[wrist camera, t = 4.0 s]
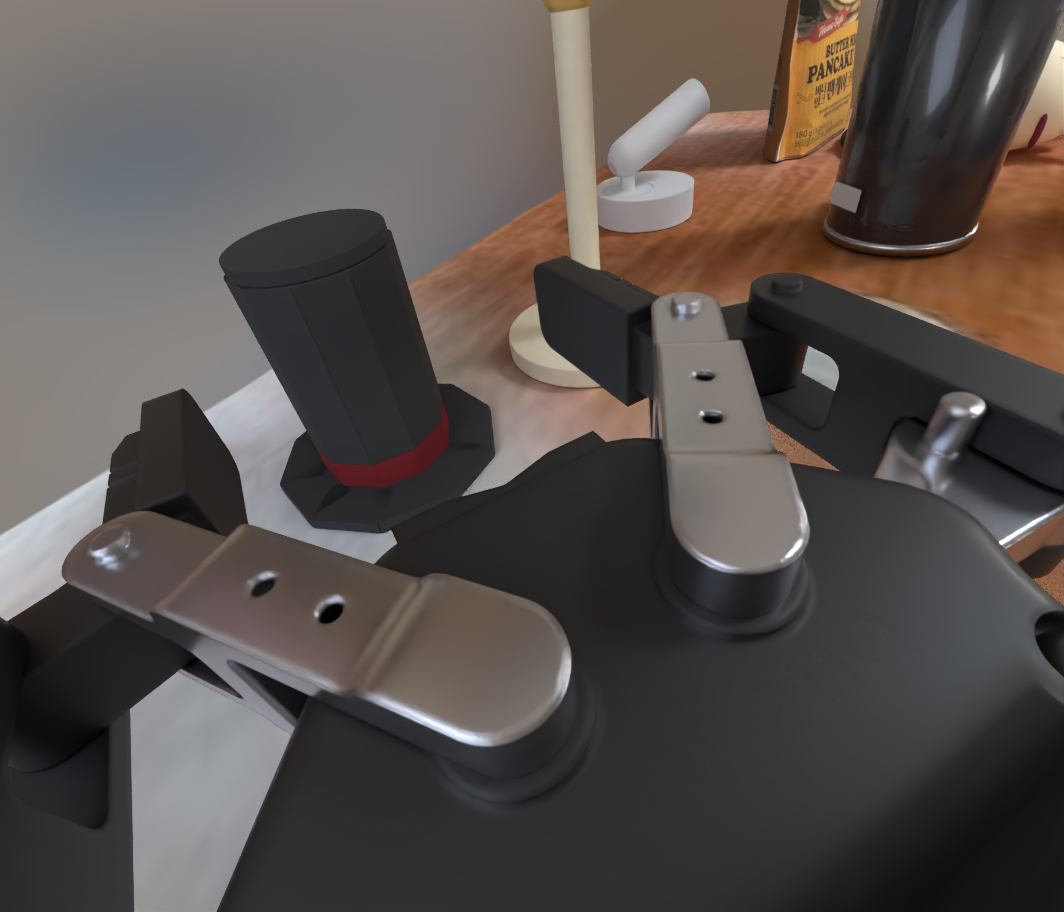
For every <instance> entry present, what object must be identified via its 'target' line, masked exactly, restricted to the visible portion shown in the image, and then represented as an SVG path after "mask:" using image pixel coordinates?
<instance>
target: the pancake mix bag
mask: <svg viewBox="0 0 1064 912" xmlns="http://www.w3.org/2000/svg"><path fill="white" fill-rule="evenodd" d="M859 10H860V0H788V5H787V12H786V17H785V24H784V30H783V36H782V42H781V48H780V54H779V60H778V66H777V72H776V77H775V83H774V88H773V94H772V101H771V107H770V115H769V122H768V128H767V133H766V139H765V144H764V150H763V156H764V158H766V159H768V160H770V161H774V162H777V161H780V160H784V159H791V158H800V157H803V156H805V155H807V154H810V153H811V152H813V151H815V150H816V149H818V148H819V147H821V146H822V145H824V144H825V143H827V142H828V141H829V140H830V139H832V138H834V137H836V136H837V135H839V134H840V133H841V132H842V131H843V130H844V129H845V126H846V122H847V118H848V113H849V108H850V103H851V92H852V75H853V62H854V52H855V43H856V35H857V26H858V18H859Z"/></svg>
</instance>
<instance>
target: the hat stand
mask: <svg viewBox="0 0 1064 912" xmlns="http://www.w3.org/2000/svg"><path fill="white" fill-rule="evenodd" d="M542 1H543V3H544V5H545V7H546V8H547V9H548V10H549V12H550V13H551V24H552V36H553V48H554V60H555V72H556V85H557V97H558V107H559V108H558V109H559V121H560V134H561V145H562V158H563V170H564V182H565V195H566V207H567V219H568V231H569V243H570V256H571V259H573V260H575V261H577V262H579V263H581V264H583V265H585V266H587V267H589V268H592V269H598V270H600V254H599V232H598V209H597V187H596V164H595V143H594V119H593V98H592V75H591V52H590V30H589V7H588V6H589V5H590V3H591V1H592V0H542ZM509 343H510V349H511V354H512V358H513V360H514V362H515V364H516V365H517V366H518V368H519V369H520V370H521V371H523V372H524V373H525V374H527V375H528V376H530V377H532V378H534V379H536V380H538V381H541V382H544V383H547V384H551V385H556V386H562V387H573V388H589V387H600V385H599V384H597V383H596V382H595V381H594V380H592V379H591V378H590V377H588V376H587V375H586V374H584V373H583V372H582V371H580V370H579V369H578V368H577V367H575V366H574V365H573V364H571V363H570V362H569V361H567V360H566V359H565V358H563V357H562V356H561V355H559V354H558V353H557V352H556V351H554V350H553V349H552V348H551V347H550V346H549V345H548V344H547V342H546V341H545V339H544V337H543V334H542V331H541V327H540V320H539V313H538V305H537V303H536V304H534V305H532V306H531V307H529V308H527V309H526V310H525V311H523V312H522V313H521V314H520V315H519V316H518V317H517V318H516V319H515V321H514V322H513V323H512V325H511V327H510V331H509Z"/></svg>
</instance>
